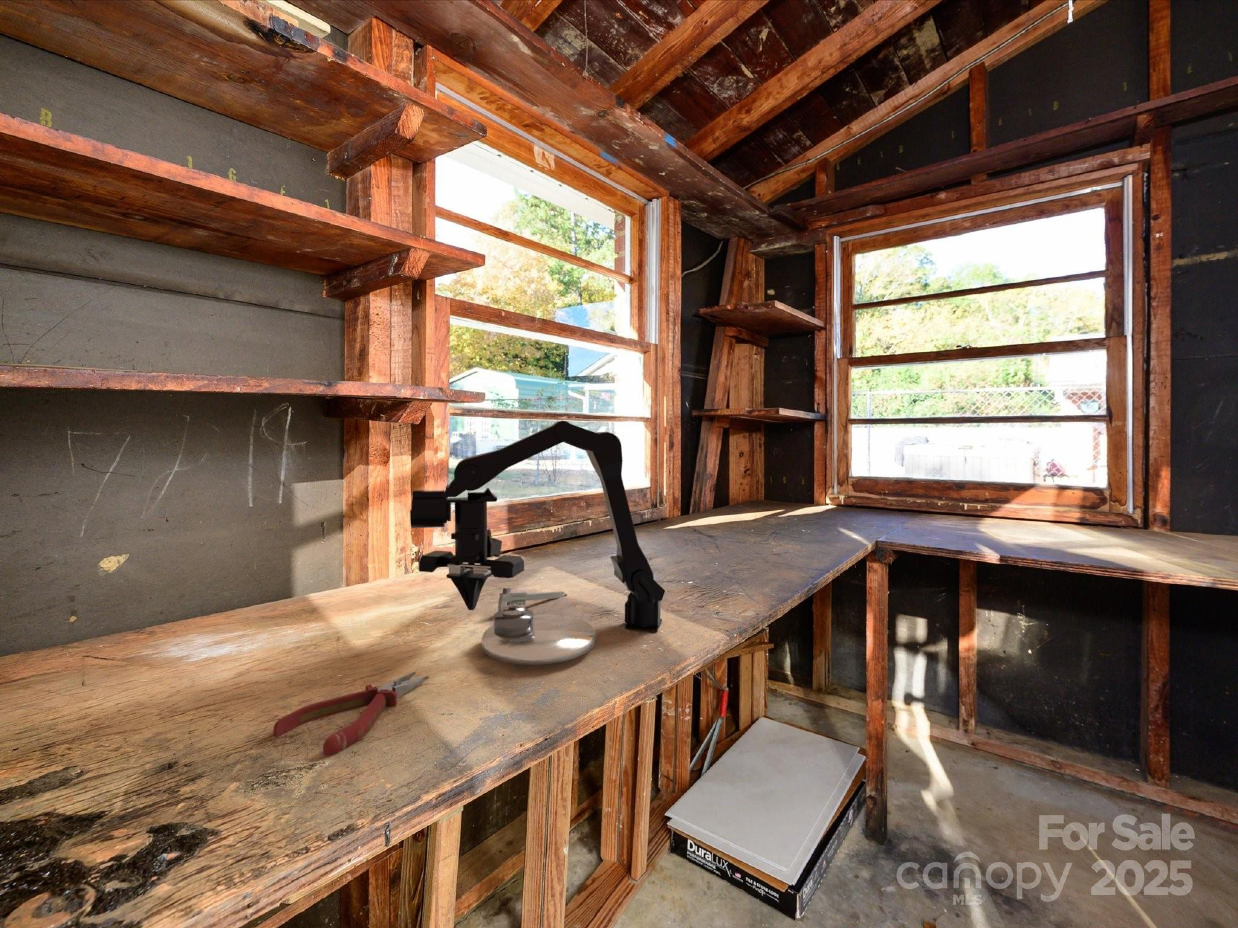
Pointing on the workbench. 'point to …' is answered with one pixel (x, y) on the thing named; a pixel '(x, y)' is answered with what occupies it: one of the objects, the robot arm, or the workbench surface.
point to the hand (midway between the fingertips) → (471, 609)
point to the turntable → (542, 641)
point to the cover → (513, 621)
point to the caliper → (524, 597)
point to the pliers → (364, 723)
